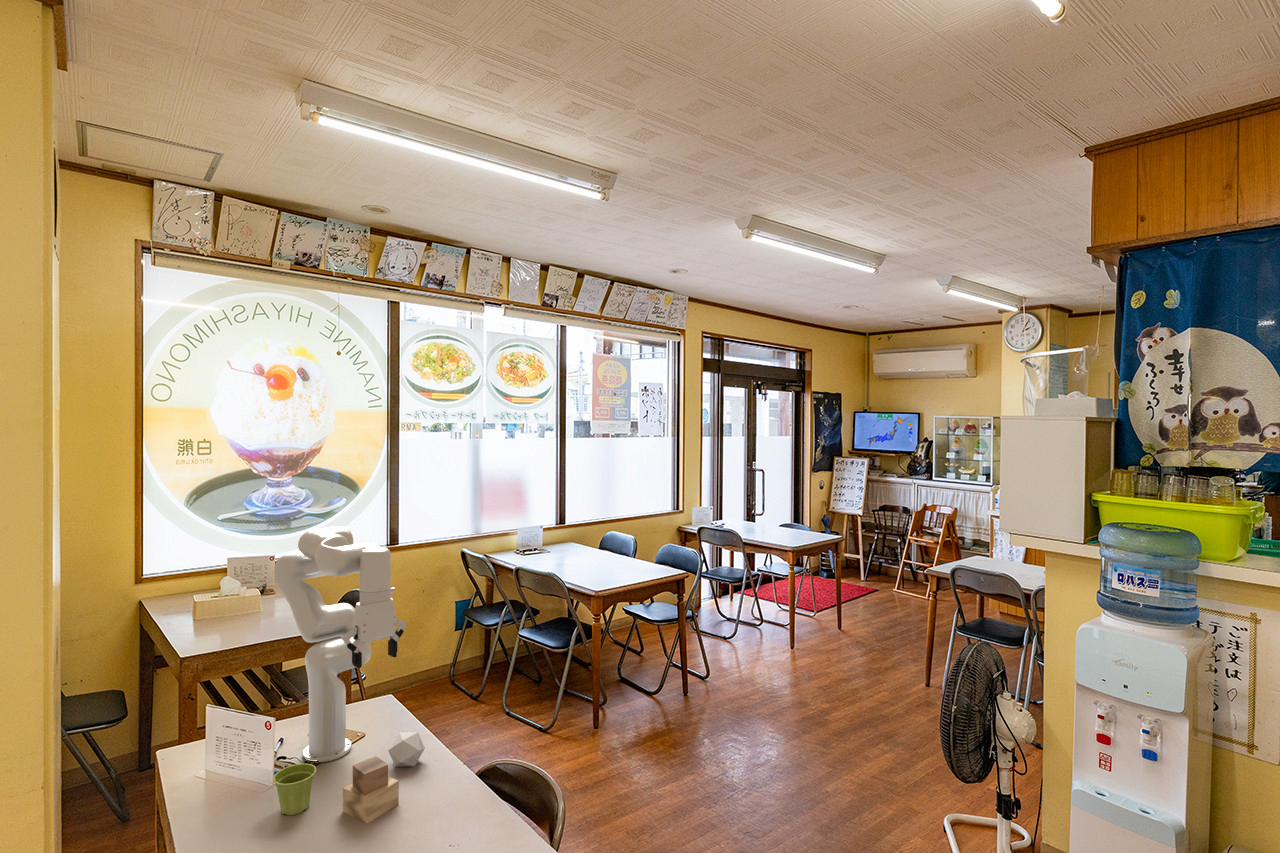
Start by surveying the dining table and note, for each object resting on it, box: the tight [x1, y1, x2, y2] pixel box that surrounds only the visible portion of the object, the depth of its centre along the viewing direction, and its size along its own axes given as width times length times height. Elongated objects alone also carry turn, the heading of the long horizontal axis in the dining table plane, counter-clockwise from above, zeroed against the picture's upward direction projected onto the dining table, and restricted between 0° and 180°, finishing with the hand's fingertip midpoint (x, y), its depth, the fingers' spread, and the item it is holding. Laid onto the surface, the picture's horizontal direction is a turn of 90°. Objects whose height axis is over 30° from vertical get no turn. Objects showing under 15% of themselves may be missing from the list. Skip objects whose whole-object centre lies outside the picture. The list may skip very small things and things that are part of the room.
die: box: [387, 731, 426, 767], centre depth 183 cm, size 8×9×10 cm
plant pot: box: [272, 763, 317, 816], centre depth 161 cm, size 9×9×9 cm
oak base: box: [342, 776, 400, 824], centre depth 162 cm, size 9×9×6 cm
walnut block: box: [352, 755, 389, 795], centre depth 161 cm, size 6×6×5 cm
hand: (375, 661), depth 172 cm, fingers open, 9 cm apart
